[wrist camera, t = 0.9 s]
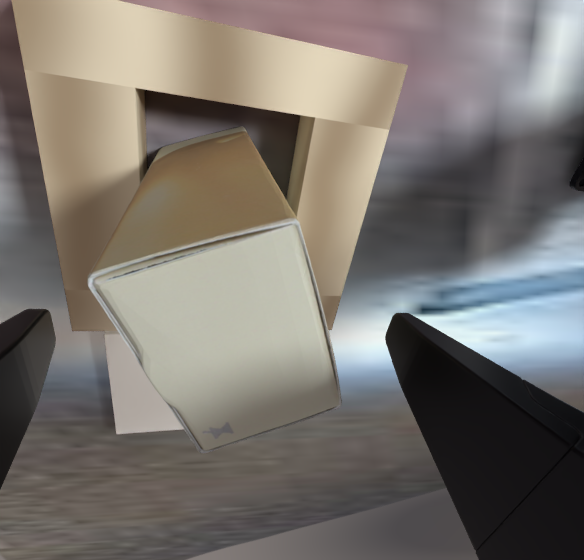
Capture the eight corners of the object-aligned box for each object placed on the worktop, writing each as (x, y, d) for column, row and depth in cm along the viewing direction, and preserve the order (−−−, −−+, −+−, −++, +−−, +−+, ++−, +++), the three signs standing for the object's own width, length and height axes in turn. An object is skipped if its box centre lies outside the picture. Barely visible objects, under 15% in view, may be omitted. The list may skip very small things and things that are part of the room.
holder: (382, 63, 17) (407, 65, 15) (320, 305, 24) (331, 329, 22) (38, -13, 13) (7, -25, 11) (85, 302, 20) (72, 331, 18)
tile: (301, 323, 24) (305, 332, 23) (281, 410, 29) (283, 421, 28) (107, 323, 21) (103, 334, 20) (119, 421, 25) (116, 434, 25)
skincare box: (275, 235, 20) (349, 416, 10) (201, 257, 20) (202, 465, 10) (243, 116, 17) (307, 214, 7) (152, 141, 16) (74, 283, 6)
